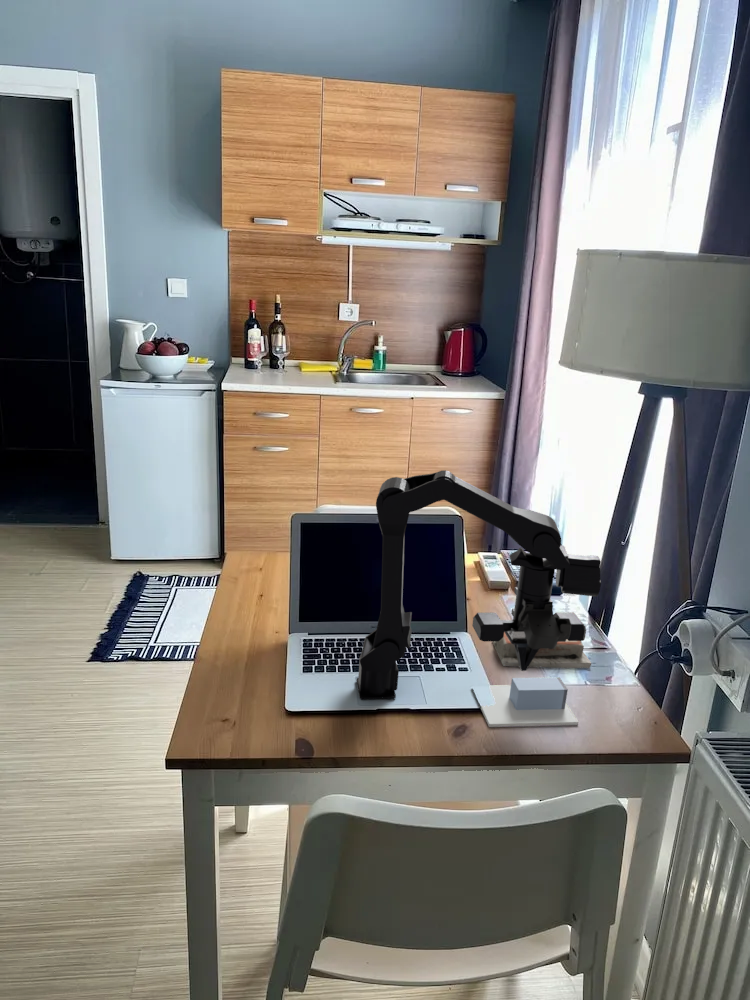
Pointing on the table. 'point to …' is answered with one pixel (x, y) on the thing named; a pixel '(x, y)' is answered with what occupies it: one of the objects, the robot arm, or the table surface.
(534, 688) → the block
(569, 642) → the packaged product
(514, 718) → the mat
